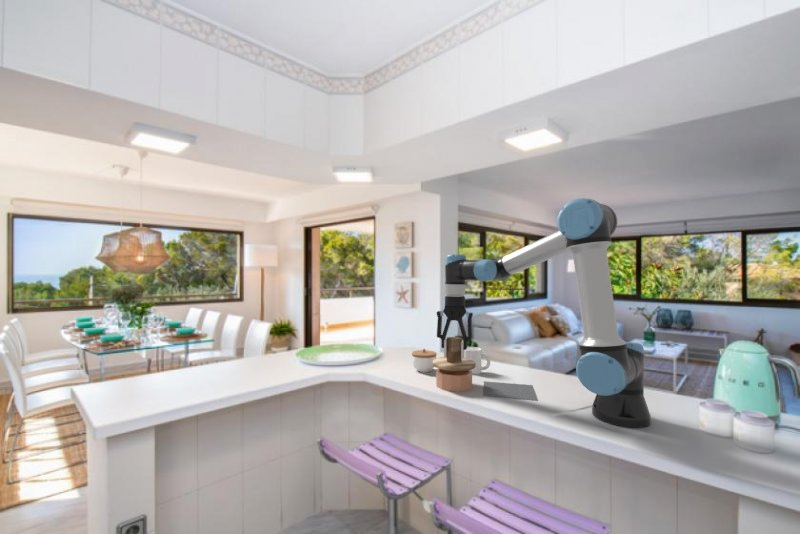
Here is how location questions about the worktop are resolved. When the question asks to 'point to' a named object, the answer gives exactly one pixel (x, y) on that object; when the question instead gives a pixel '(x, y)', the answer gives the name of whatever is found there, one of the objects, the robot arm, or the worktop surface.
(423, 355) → the lidded jar
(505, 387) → the mat
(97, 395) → the worktop surface
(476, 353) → the mug
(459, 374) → the bowl
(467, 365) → the cover
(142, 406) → the worktop surface
